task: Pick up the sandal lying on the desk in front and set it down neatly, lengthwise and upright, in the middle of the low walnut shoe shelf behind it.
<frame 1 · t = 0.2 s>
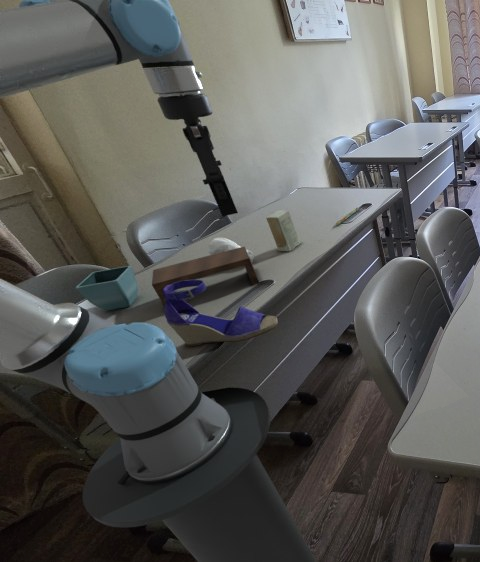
hand: (227, 205, 83), 29 cm above the table, tool pointing down, fingers open, 13 cm apart
flower pot: (122, 305, 108), on the table
shoe shelf: (214, 288, 113), on the table
pencil: (347, 218, 156), on the table
cosmetic box: (289, 248, 135), on the table
sandal: (232, 334, 94), on the table
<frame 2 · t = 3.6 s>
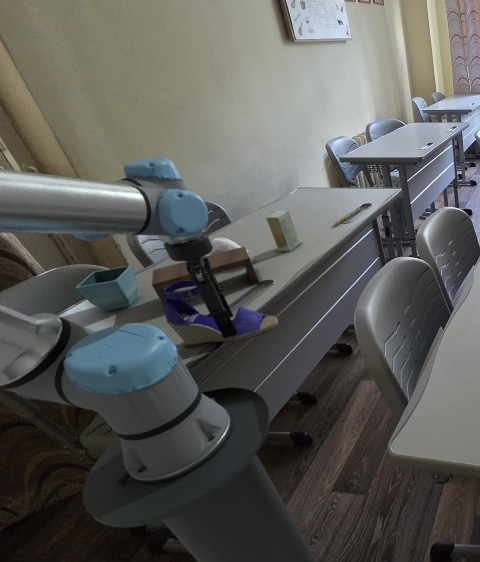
hand: (228, 326, 93), 2 cm above the table, tool pointing down, fingers open, 8 cm apart
sandal: (232, 334, 94), on the table, touching gripper
everything else where it was.
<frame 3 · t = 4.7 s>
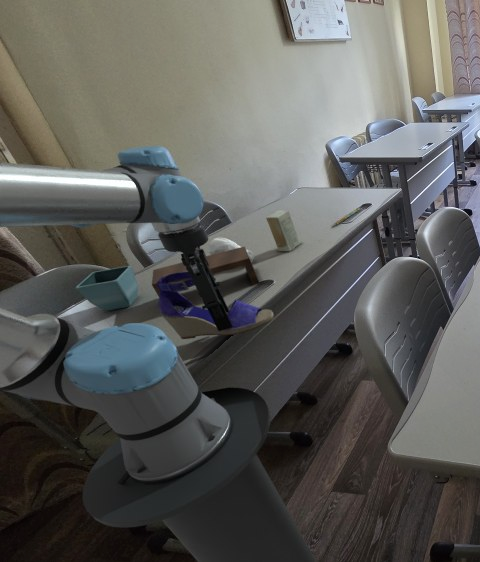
hand: (224, 320, 91), 4 cm above the table, tool pointing down, fingers closed on sandal, 7 cm apart
sandal: (227, 327, 93), point 2 cm above the table, touching gripper
everything else where it was.
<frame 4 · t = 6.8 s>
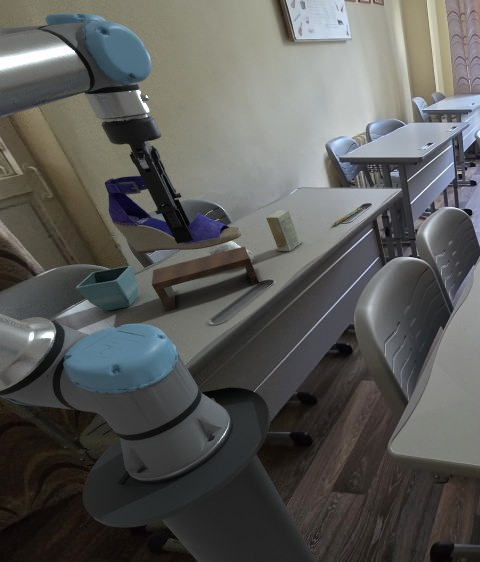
hand: (185, 235, 83), 25 cm above the table, tool pointing down, fingers closed on sandal, 7 cm apart
sandal: (190, 244, 85), point 22 cm above the table, touching gripper
everything else where it was.
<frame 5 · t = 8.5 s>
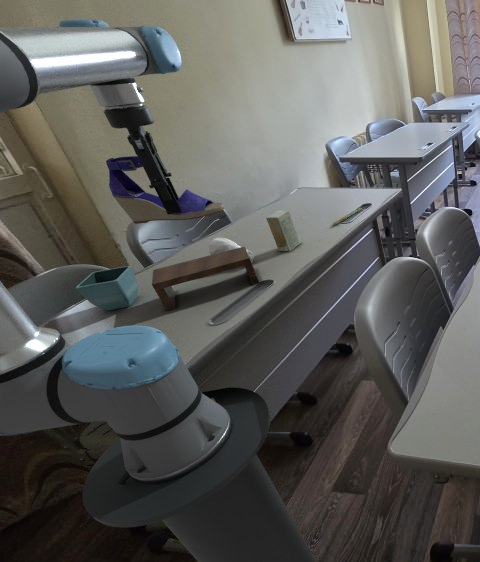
hand: (174, 208, 97), 25 cm above the table, tool pointing down, fingers closed on sandal, 7 cm apart
sandal: (179, 216, 99), point 23 cm above the table, touching gripper
everything else where it was.
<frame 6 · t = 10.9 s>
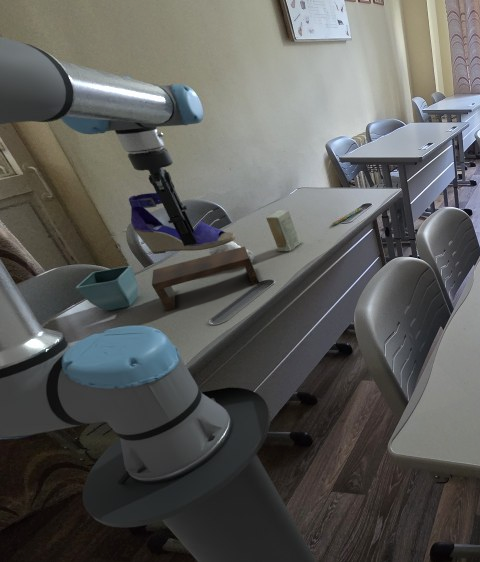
hand: (190, 239, 105), 15 cm above the table, tool pointing down, fingers closed on sandal, 7 cm apart
sandal: (194, 246, 107), point 13 cm above the table, touching gripper
everything else where it was.
when the fingers open (10 cm above the table, at t = 12.6 s): sandal stays where it is, resting on shoe shelf.
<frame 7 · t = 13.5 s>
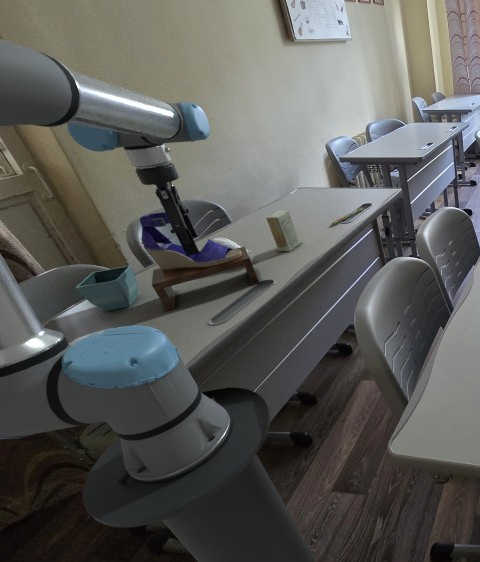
hand: (192, 245, 106), 14 cm above the table, tool pointing down, fingers open, 13 cm apart
sandal: (202, 263, 109), point 8 cm above the table, touching shoe shelf
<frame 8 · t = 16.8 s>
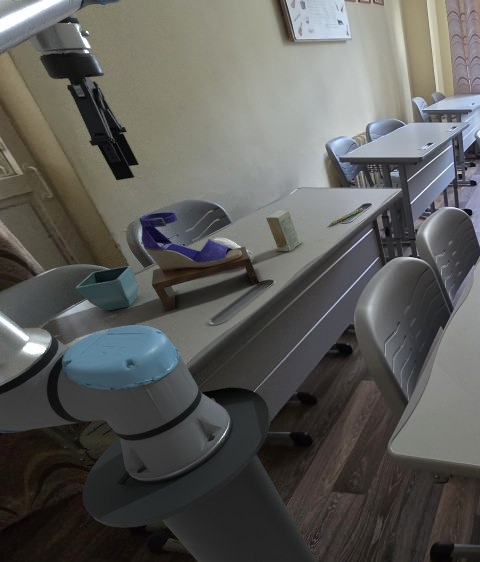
hand: (128, 171, 82), 37 cm above the table, tool pointing down, fingers open, 13 cm apart
at the end: sandal inside the target area on the shoe shelf (0.6 cm from its centre), point 7.8 cm above the shoe shelf's base; sandal tilted 0°; the gripper is holding nothing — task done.
